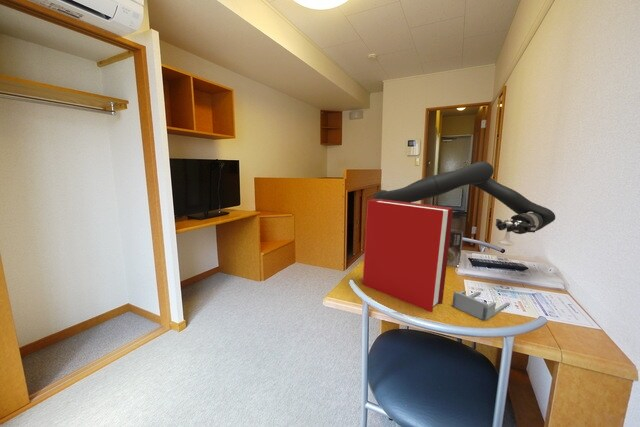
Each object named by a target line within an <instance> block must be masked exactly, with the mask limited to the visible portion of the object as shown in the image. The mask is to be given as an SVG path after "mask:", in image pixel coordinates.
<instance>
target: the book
mask: <svg viewBox="0 0 640 427" xmlns="http://www.w3.org/2000/svg"><path fill="white" fill-rule="evenodd" d="M453 214H454V207H449V206H448V207H447V206H442V205H441V206H440V205H431V204H426V203H417V202H411V203H409V202H401V201H393V200H384V199H373V198H371V199H367V203H366V218H365V219H366V220H365V237H364V238H365V239H364V252H363V253H364V254H363V255H364V256H363V267H362V268H363V272H362V285H363V286H364V287H367V288H369V289H372V290H375V291H377V292H380V293H382V294H384V295H387V296H389V297H391V298H392V297H393V298H394V299H398V300H400V301H402V302H405V303H408V304H410V305H413V306H414V307H415V306H416V308H417V307H418V308H420V309H423V310H425V311H428V312H430V313H433V311H434V306H436V305H437V304H443V301H444V292H445V283H446V277H447V276H446V274H447V266H448V265H447V259H448V250H449V242H450V233H451V229H452V224H453V223H452V222H453Z"/></svg>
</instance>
